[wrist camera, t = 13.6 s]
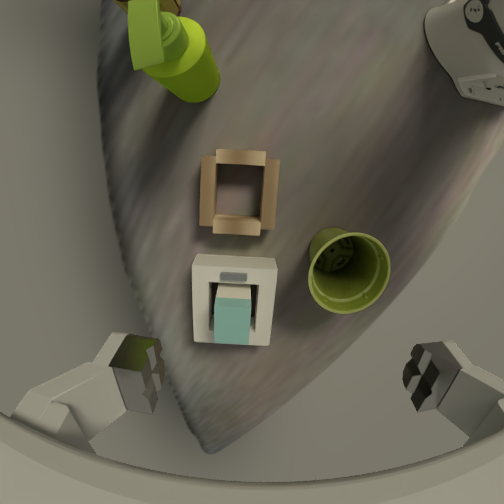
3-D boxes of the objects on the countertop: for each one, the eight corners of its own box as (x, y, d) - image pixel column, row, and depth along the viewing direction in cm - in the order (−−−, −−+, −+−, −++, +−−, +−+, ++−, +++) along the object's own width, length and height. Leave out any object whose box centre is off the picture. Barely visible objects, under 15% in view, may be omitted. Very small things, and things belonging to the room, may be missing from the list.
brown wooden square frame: (277, 152, 34) (280, 152, 31) (271, 229, 37) (273, 236, 34) (205, 149, 33) (202, 148, 31) (202, 226, 36) (199, 232, 34)
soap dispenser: (176, 115, 32) (100, 80, 13) (169, 65, 30) (98, -6, 11) (224, 105, 32) (197, 51, 13) (216, 55, 29) (186, -34, 11)
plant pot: (321, 294, 40) (337, 328, 32) (281, 244, 38) (290, 270, 29) (374, 254, 38) (403, 280, 30) (339, 200, 36) (364, 214, 28)
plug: (250, 277, 39) (251, 307, 31) (248, 310, 41) (248, 344, 33) (220, 276, 39) (214, 305, 31) (219, 308, 40) (214, 342, 33)
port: (274, 258, 38) (278, 271, 34) (267, 329, 42) (269, 347, 37) (197, 253, 38) (191, 266, 33) (198, 325, 41) (193, 343, 37)
